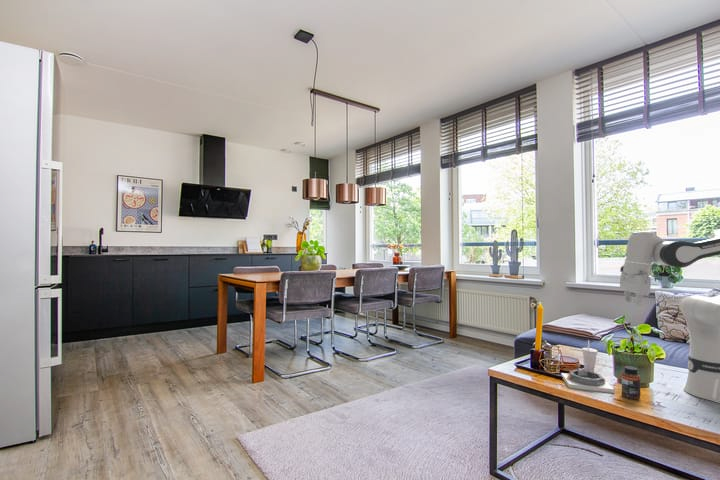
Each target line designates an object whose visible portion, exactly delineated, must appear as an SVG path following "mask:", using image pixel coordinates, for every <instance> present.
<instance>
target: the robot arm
mask: <svg viewBox="0 0 720 480" xmlns="http://www.w3.org/2000/svg"><path fill="white" fill-rule="evenodd" d="M715 256H720V228H719V229H716V230H714V231H713V232H712V233H711V235H710V237H709V239H705V240H700V241H697V242H695V241H694V242H688V241H685V240H684V241H682V240H679V241H678V240H676V241H667V240H666V239H664V238H661V237H660V236H658V235H656V234H655V231H650V230H649V231H648V230H645V231H644V230H643V231H634V232H632V233H631V234H630V236H629V238H628V241H627V246H626V257H625V260H624V264H623V265H622V266H621V267H620V269H619V272H620V273H621V274H620V280H619V286H620V289H621V290H622V291H624V292H623V293H624V302H628V303H631V302H632V297H631V295H632V293H633V294H635V299H634V300H633V305H634V306H638V307H640V306H641V303H642V301H643V299H644V296H646V297H648V296H649V295H650V293H651V286H652V284H651V283H652V281H651V277H650V276H651V272H652V271H651V270H652V264H653V263H654V264H656V265H660V266H665V267H666V266H667V267H673V268H677V269H678V268H679V269H681V268H686V267H687V268H688V266H691V265H692V264H694V263H696V262H697V261H699V260H702V259H706V258H709V257H715ZM678 305H679V306H678V307H679V310H680V312H681V314H682V315H683V318H684V319H685V323H686V327H687V331H688V335H689V336H688V337H689V355H688V356H687V357H688V358H687V359H688V360H687V369H688V372H687V373H688V375H687V378H686V382H685V385H684V388H683V391H684V392H686V393H688V394H689V395H691V396H695V397H697V398H700V399H704V400H706V401H707V400H708V401H711V402H715V403H717V404H720V293H719V294H717V295H715V296H714V295H713V296H706V295H700V294H694V295H693V294H692V295H687V296H685V297H684V298H682V299H681V300H680V302H679V304H678Z"/></svg>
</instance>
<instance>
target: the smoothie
mask: <svg viewBox="0 0 720 480" xmlns="http://www.w3.org/2000/svg"><path fill="white" fill-rule="evenodd" d="M581 352H582V356H583V357H582V358H583V366H584V371H590V372H594V371H595V368H596V367H595V366H596V361H597V356H598V353H599V352H598V350H597V349H595V348H591V347H590V340H589V339H588V340H587V347H581Z"/></svg>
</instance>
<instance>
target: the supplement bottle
mask: <svg viewBox="0 0 720 480" xmlns="http://www.w3.org/2000/svg"><path fill="white" fill-rule="evenodd" d="M621 395H622V396H623V397H624V398H626V399H630V400H640V399H641V375H640V374H638V368H637V367H634V366H631V365H630V366H629V365H628V366H624V371H622V372H621Z"/></svg>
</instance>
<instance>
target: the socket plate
mask: <svg viewBox="0 0 720 480" xmlns="http://www.w3.org/2000/svg"><path fill="white" fill-rule="evenodd" d="M568 374H569V373H567V372H566V373H565V372H560V376H561V375H562V377H563V378H562V377H561V378H562V380H563V381H564V383H565V384H566V385H567V387H568V388H569V389H577V390H584V391H595V392H602V393H609V394H610V393H611V394H614V393H615V389H614V388H613V386H611V385H610V383H609V382H607V381H606V380H605V383H604V385H600V386H590V385H583V384H580V383H577V382H574V381H572V380H570V379H568ZM583 378H588V377H583ZM590 379H591V378H590Z"/></svg>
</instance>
